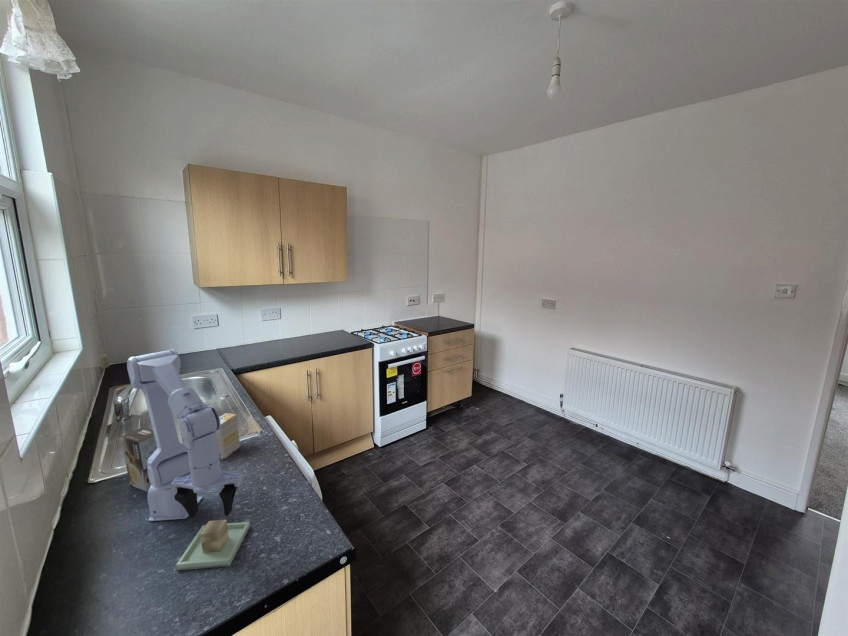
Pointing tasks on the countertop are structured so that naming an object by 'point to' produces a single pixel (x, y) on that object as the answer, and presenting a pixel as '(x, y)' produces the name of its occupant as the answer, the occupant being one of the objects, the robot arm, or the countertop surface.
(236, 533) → the tray
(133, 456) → the coffee box
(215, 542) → the beech block
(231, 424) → the supplement box
